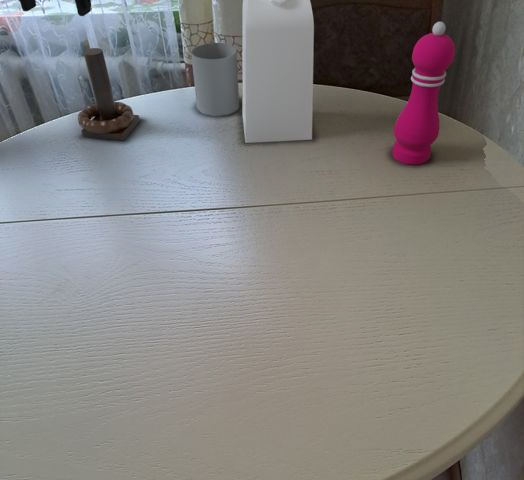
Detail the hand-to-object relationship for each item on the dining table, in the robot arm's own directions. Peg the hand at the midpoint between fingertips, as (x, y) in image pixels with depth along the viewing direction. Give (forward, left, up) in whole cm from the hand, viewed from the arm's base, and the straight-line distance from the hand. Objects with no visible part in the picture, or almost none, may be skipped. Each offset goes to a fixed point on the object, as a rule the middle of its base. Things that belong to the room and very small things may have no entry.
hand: (57, 11), depth 80 cm
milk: (+34, +7, -19) cm, 40 cm away
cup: (+21, +13, -19) cm, 32 cm away
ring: (+4, 0, -17) cm, 17 cm away
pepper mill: (+59, +1, -19) cm, 62 cm away
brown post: (+4, 0, -19) cm, 19 cm away
